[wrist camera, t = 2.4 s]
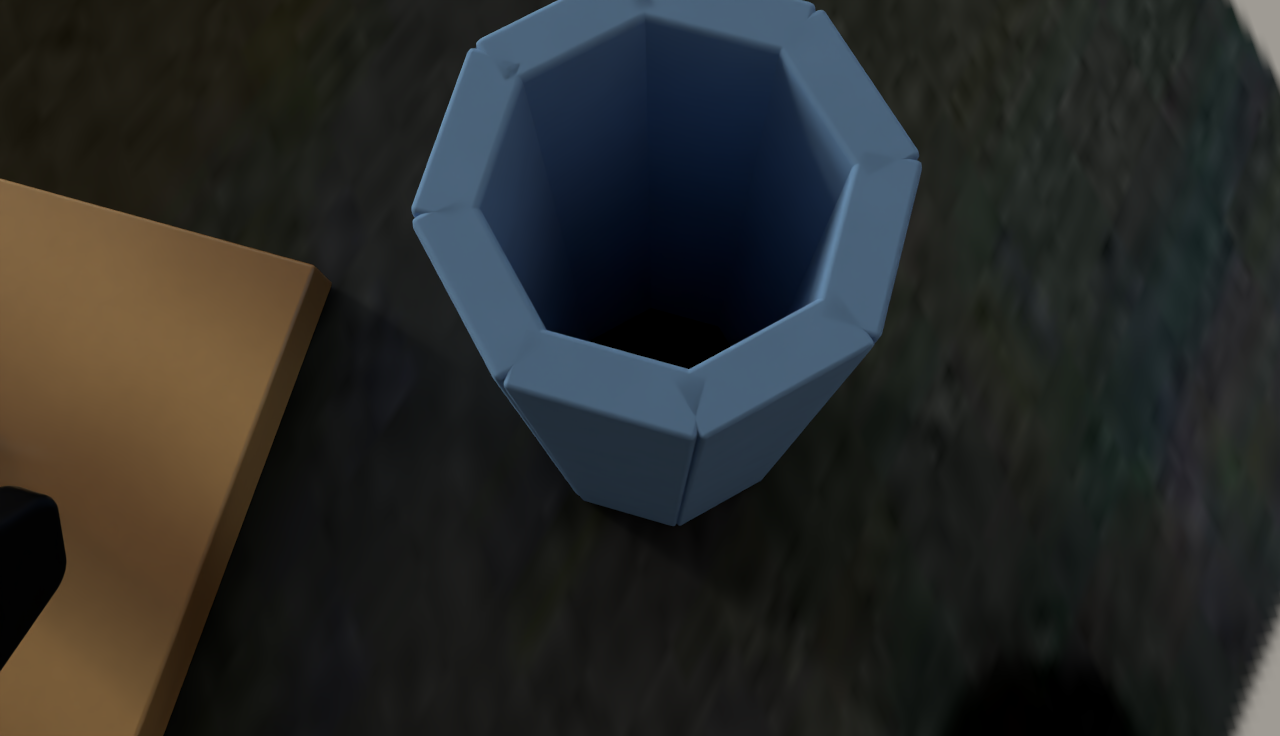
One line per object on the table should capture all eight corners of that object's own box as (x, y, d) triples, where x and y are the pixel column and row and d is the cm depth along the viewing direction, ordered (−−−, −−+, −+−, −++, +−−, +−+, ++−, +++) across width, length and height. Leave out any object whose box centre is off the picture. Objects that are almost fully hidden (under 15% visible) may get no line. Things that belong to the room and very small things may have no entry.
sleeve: (746, 547, 20) (845, 484, 10) (511, 480, 21) (358, 347, 10) (806, 319, 22) (954, 34, 11) (582, 258, 22) (510, -75, 11)
